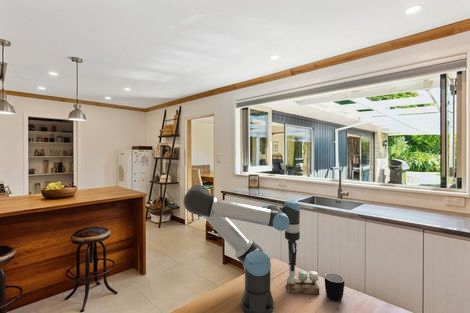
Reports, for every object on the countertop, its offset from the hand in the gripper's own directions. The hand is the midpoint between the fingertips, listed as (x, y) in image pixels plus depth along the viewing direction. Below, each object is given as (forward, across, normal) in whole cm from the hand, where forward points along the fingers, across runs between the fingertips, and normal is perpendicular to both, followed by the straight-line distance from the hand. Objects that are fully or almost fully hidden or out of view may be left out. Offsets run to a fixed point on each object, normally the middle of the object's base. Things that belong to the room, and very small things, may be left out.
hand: (292, 276), depth 129 cm
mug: (+7, -5, -19) cm, 21 cm away
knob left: (+6, 0, 0) cm, 6 cm away
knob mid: (+4, 0, -5) cm, 6 cm away
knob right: (+3, 0, -11) cm, 11 cm away
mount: (+7, 0, -5) cm, 9 cm away
